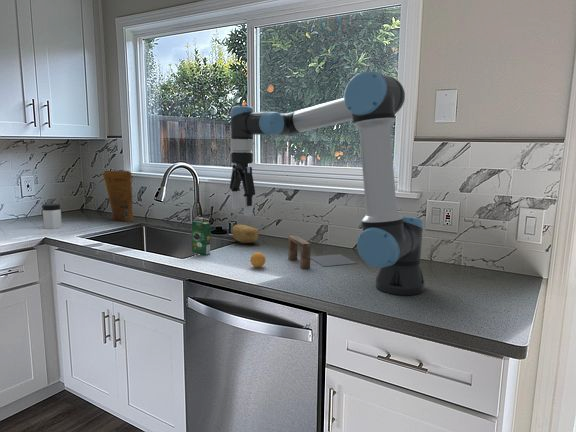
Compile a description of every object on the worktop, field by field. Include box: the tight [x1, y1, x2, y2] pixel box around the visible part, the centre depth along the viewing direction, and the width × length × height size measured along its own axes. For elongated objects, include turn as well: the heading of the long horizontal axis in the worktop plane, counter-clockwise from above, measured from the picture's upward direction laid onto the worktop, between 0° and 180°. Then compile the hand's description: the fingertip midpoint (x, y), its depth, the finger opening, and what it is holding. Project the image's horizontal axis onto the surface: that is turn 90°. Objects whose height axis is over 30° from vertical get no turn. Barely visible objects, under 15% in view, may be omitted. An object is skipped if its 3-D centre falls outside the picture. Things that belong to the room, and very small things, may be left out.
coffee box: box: [191, 220, 211, 256], centre depth 180 cm, size 8×3×13 cm, turn 57°
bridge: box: [287, 234, 312, 270], centre depth 167 cm, size 3×14×9 cm, turn 21°
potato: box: [231, 224, 259, 244], centre depth 200 cm, size 10×14×8 cm
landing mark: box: [310, 253, 358, 268], centre depth 173 cm, size 14×14×1 cm
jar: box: [41, 202, 63, 230], centre depth 228 cm, size 9×8×12 cm
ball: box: [250, 251, 267, 268], centre depth 162 cm, size 6×6×6 cm
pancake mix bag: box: [102, 170, 134, 223], centre depth 249 cm, size 7×19×28 cm, turn 64°
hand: (241, 212), depth 159 cm, fingers open, 13 cm apart
